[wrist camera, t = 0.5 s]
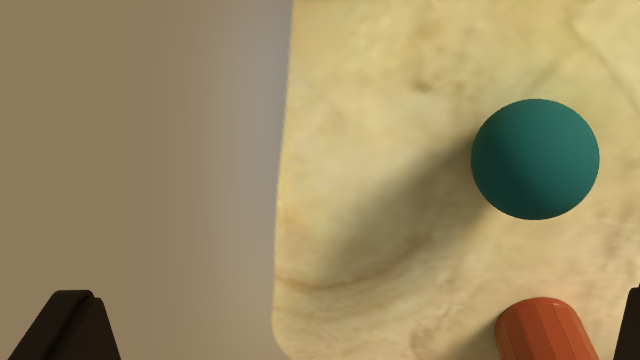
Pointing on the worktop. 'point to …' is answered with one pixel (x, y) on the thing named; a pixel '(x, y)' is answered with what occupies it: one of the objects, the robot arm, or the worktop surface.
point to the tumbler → (542, 332)
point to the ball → (535, 159)
